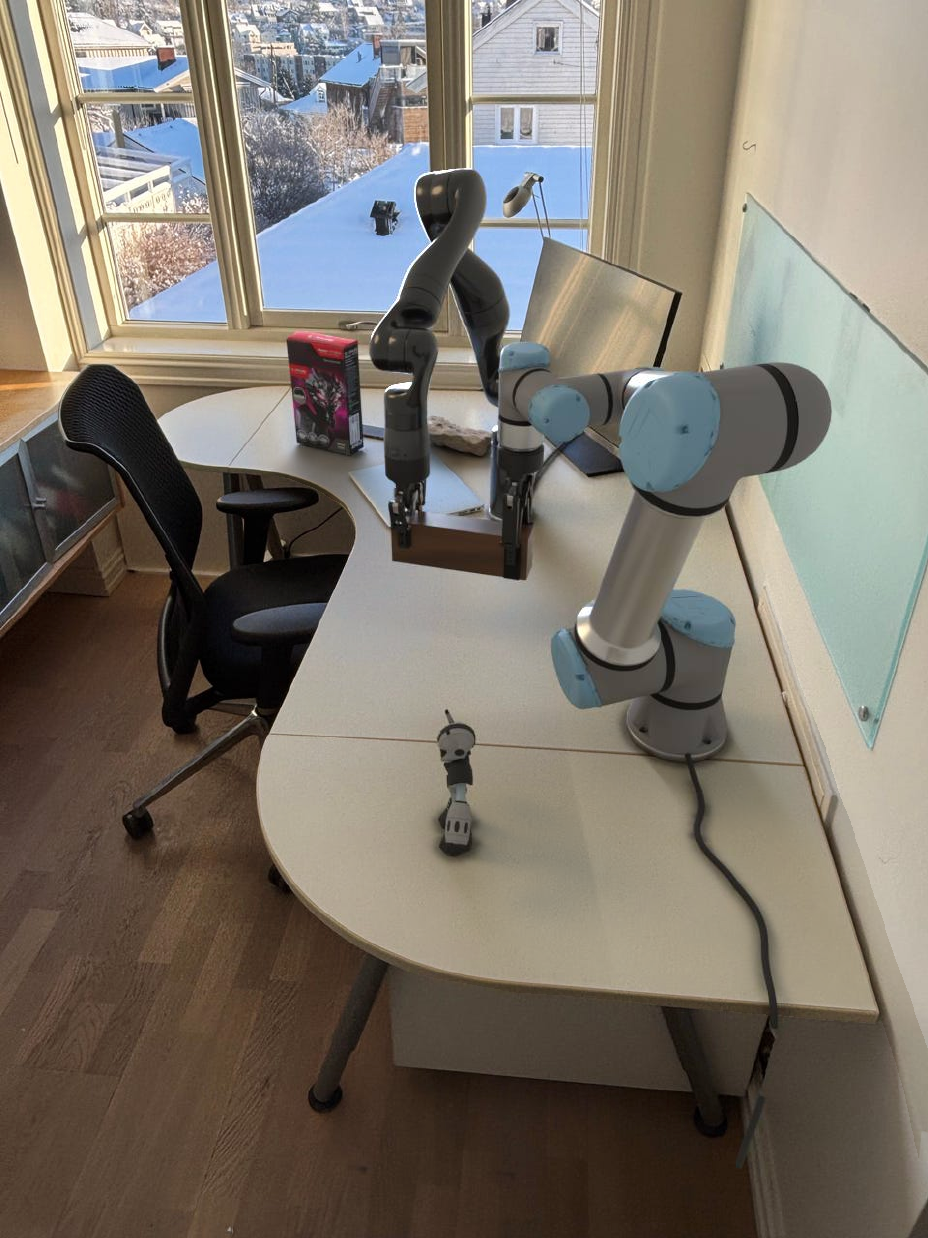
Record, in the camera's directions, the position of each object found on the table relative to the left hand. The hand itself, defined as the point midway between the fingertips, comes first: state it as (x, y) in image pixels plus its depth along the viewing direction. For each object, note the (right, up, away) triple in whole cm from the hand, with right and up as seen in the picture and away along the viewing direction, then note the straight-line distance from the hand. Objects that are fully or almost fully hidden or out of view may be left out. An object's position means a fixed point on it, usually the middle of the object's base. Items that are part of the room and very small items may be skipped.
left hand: (409, 539), depth 161 cm
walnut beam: (+9, -4, 0) cm, 10 cm away
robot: (+8, -43, -36) cm, 57 cm away
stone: (+6, +30, +73) cm, 79 cm away
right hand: (+18, -5, -2) cm, 19 cm away
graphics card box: (-24, +30, +72) cm, 81 cm away
